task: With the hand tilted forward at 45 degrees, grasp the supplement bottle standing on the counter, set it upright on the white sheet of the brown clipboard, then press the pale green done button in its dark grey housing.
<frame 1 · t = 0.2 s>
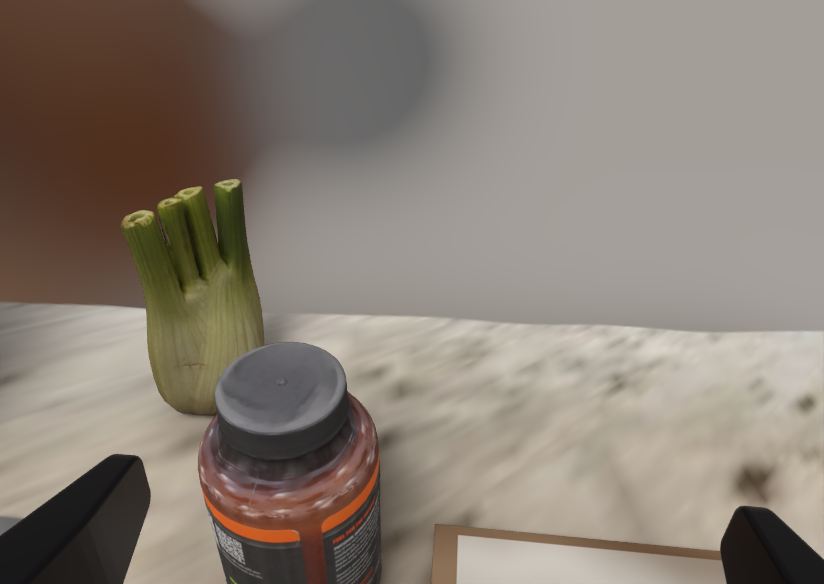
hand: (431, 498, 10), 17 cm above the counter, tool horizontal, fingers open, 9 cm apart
fennel bulb: (221, 397, 34), on the counter
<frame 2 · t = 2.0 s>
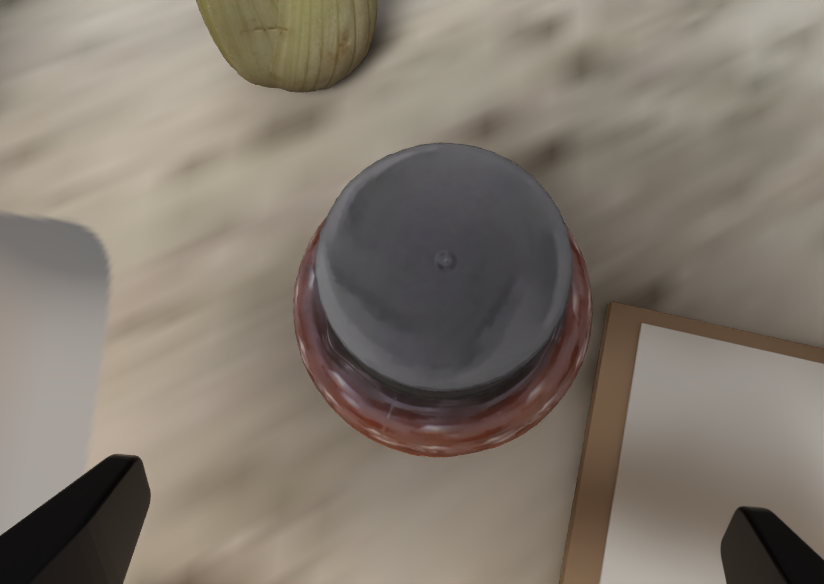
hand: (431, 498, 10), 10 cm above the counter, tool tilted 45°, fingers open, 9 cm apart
supplement bottle: (438, 359, 21), on the counter
fennel bulb: (314, 54, 24), on the counter
clipboard: (805, 583, 19), on the counter
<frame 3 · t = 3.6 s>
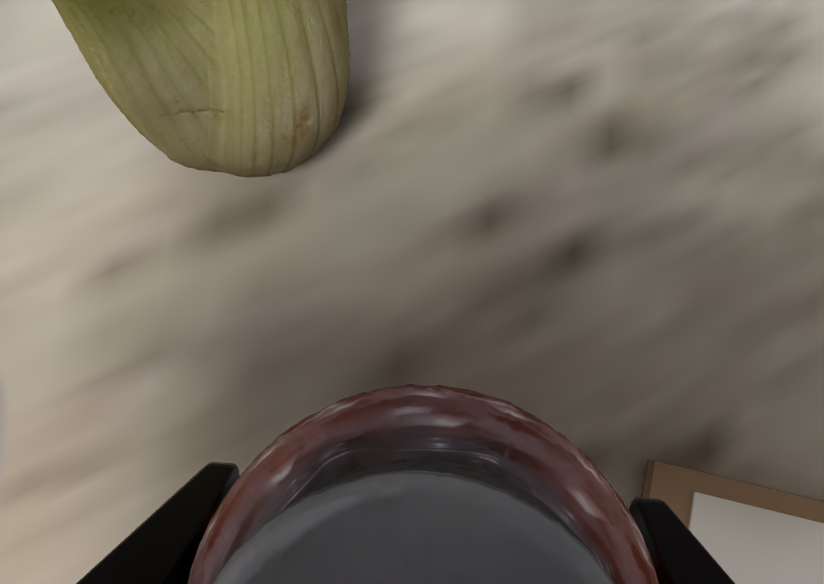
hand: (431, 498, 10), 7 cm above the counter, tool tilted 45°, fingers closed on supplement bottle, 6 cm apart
supplement bottle: (427, 531, 16), on the counter, touching gripper
fennel bulb: (273, 121, 19), on the counter
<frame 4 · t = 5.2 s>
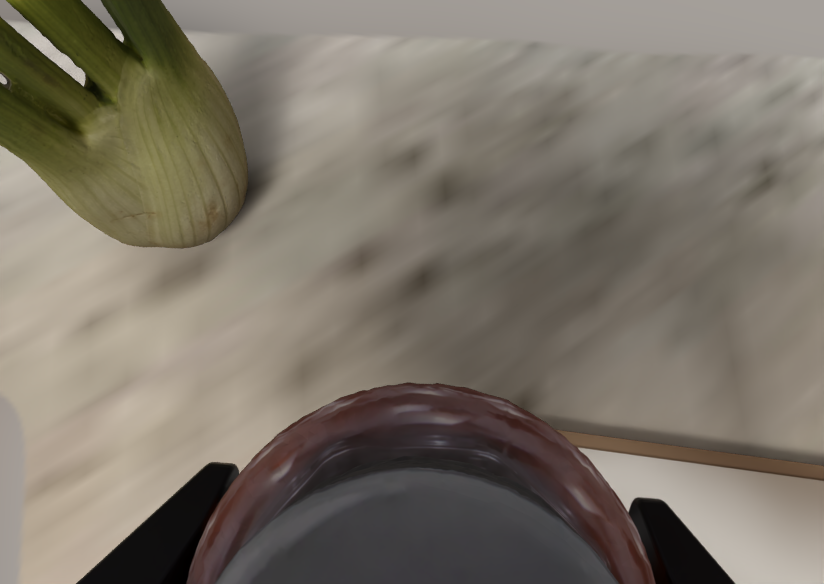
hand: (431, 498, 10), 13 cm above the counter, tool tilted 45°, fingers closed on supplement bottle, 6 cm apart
supplement bottle: (421, 528, 16), point 6 cm above the counter, touching gripper
fennel bulb: (198, 200, 25), on the counter
when the fingers open (8 cm above the counter, at t = 7.1 s): supplement bottle stays where it is, resting on clipboard.
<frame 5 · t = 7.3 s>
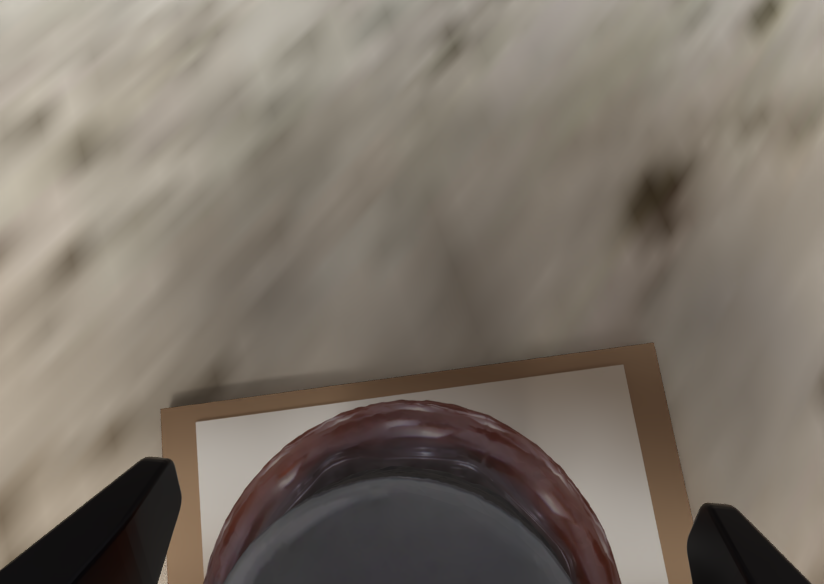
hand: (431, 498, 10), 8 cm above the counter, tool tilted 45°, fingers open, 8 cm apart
supplement bottle: (424, 532, 17), resting on clipboard
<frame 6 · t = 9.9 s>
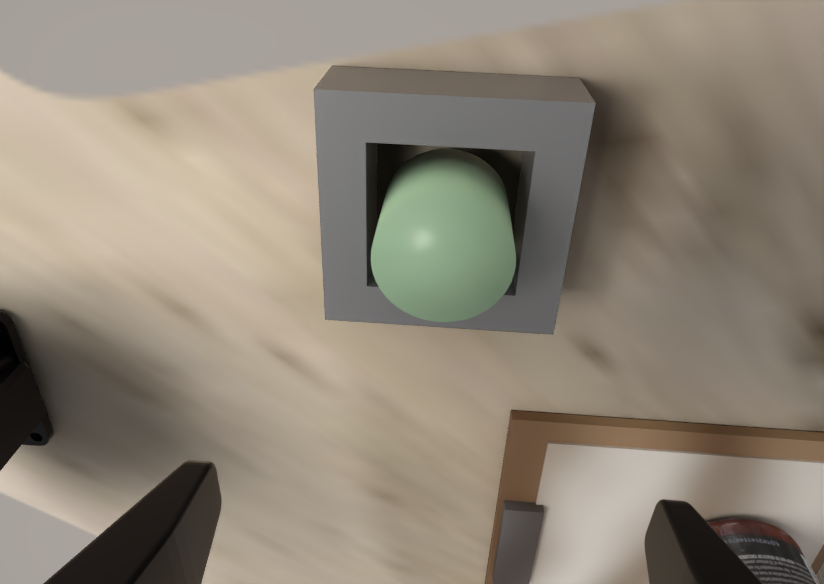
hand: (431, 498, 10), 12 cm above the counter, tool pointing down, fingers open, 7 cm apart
done button: (444, 233, 17), point 3 cm above the counter, slide at 0.0 cm
button housing: (447, 187, 20), on the counter
supplement bottle: (722, 553, 27), resting on clipboard
clipboard: (653, 541, 28), on the counter
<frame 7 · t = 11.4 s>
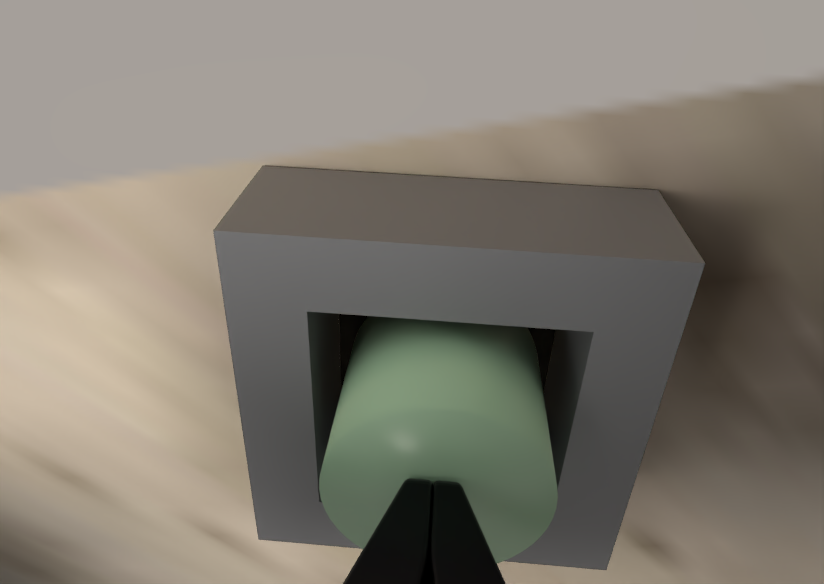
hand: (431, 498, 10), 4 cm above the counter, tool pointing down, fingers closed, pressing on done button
done button: (440, 423, 11), point 3 cm above the counter, slide at 0.7 cm, touching gripper
button housing: (445, 337, 13), on the counter
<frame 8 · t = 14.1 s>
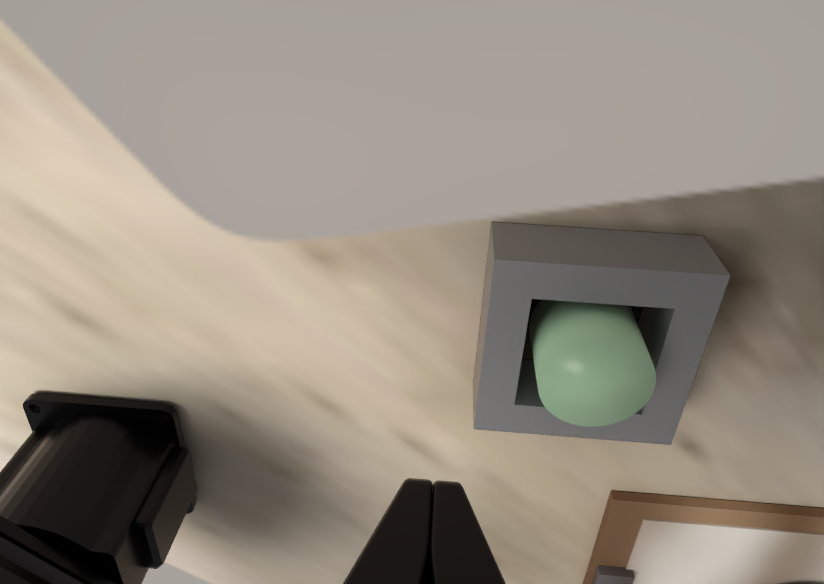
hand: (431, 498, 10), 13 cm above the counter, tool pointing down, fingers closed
done button: (587, 352, 21), point 2 cm above the counter, slide at 1.0 cm
button housing: (578, 315, 23), on the counter
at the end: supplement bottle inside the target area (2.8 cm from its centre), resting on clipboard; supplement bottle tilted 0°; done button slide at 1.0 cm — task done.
